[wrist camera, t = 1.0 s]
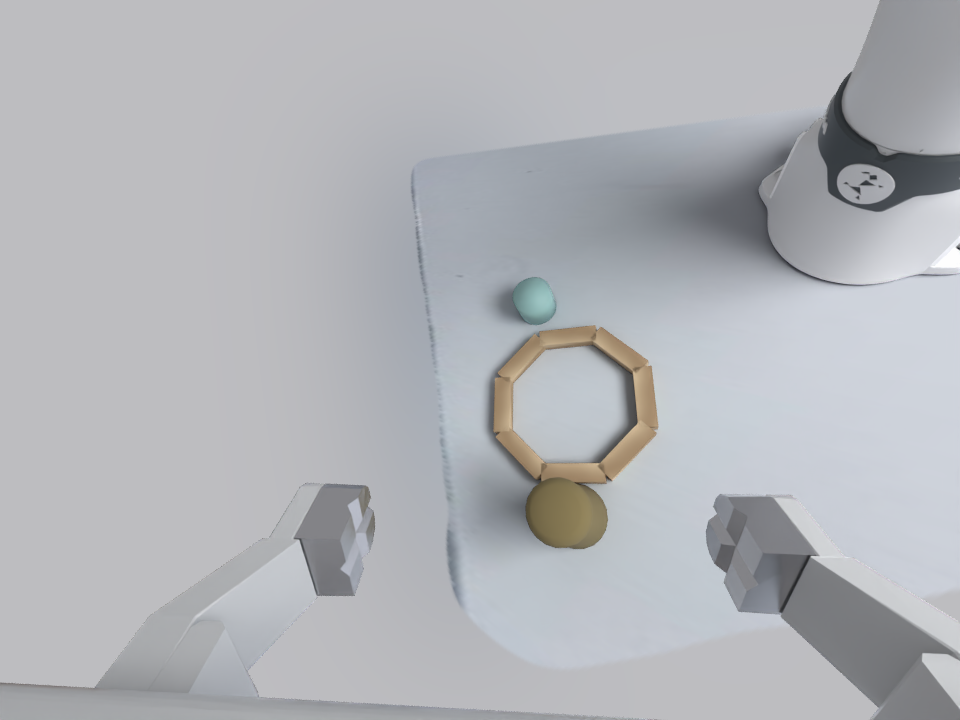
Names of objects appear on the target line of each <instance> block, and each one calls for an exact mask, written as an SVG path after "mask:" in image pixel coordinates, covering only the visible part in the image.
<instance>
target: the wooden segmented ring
mask: <svg viewBox="0 0 960 720" xmlns="http://www.w3.org/2000/svg"><path fill="white" fill-rule="evenodd" d="M588 345H594V346H596V347H597V348H598V349H600V350H601V351H602V352H604V353H605V354H606V355H608V356H609V357H610V358H612V359H613V360H614V361H616V362H617V363H618V364H619V365H621V366H622V367H623V368H625V369H626V370H627V371H629V372H630V373H631V374H633V378H634V389H635V399H636V410H637V420H638V423H637V425H636V426H635V427H634V428H633V429H632V430H631V431H630V432H629V433H628V434H627V435H626V436H625V437H624V438H623V439H622V440H621V441H620V442H619V443H618V445H617V446H616V447H615V448H614V449H613V450H612V451H611V452H610V453H609V454H608V455H607V456H606V457H605V458H604V459H603V460H602V461H601V462H600V463H545V462H544V461H543V460H542V459H541V458H540V457H539V456H538V455H537V454H536V453H535V452H534V451H533V450H532V449H531V448H530V447H529V446H528V445H527V444H526V443H525V442H524V441H523V440H522V439H521V438H520V437H519V436H518V435H517V434H516V433H515V432H514V431H513V383H514V382H515V381H516V380H517V379H518V378H519V377H520V376H521V375H522V374H523V373H524V372H525V370H526V369H527V368H528V367H529V366H530V365H531V364H532V363H533V362H534V361H535V360H536V359H537V358H538V357H539V356H540V355H541V354H542V353H543V352H544V351H545V350H547V349H557V348H567V347H578V346H588ZM498 374H499V375H500V376H501V377H500V378H495V398H494V431H493V432H495V433H496V434H498V435H497V436H496V438H497V439H498V440H499V441H500V442H501V443H502V444H503V446H504V447H505V448H506V449H507V450H508V451H509V452H510V453H511V454H512V455H513V456H514V457H515V458H516V459H517V460H518V461H519V462H520V463H521V465H522V466H523V467H524V468H525V469H526V470H527V471H528V472H529V473H530V474H531V475H532V476H533V477H534V478H535V479H536V480H539V479H540V478H541V481H544V480H546V479H549V478H556V477H561V478H565V479H569V480H571V481H573V482H574V483H595V484H606V476H607V477H609V478H610V479H611V480H612V481H613V480H614V479H615V478H616V477H617V476H618V475H619V474H620V473H621V472H622V471H623V469H624V468H625V467H626V466H627V465H628V464H629V463H630V462H631V461H632V460H633V459H634V458H635V457H636V456H637V455H638V454H639V453H640V451H641V450H642V449H643V448H644V447H645V446H646V445H647V444H648V443H649V442H650V441H651V440H652V439H653V438H654V437H655V436H656V432H655V431H654V430H652V429H658V419H657V410H656V402H655V393H654V384H653V375H652V366H648V360H647V359H645V358H644V357H642V356H641V355H640V354H638V353H637V352H635V351H634V350H633V349H631V348H630V347H629V346H627V345H626V344H624V343H623V342H622V341H620V340H619V339H617V338H616V337H615V336H613V335H612V334H610V333H609V332H608V331H606V330H605V329H603V328H602V327H600V328H599V329H598V330H596V326H595V325H594V326H585V327H576V328H567V329H558V330H549V331H540V338H539V337H538V336H537V335H535V334H534V335H533V336H532V337H531V338H530V339H529V340H528V341H527V342H526V344H525V345H524V346H523V347H522V348H521V349H520V350H519V351H518V352H517V353H516V354H515V355H514V356H513V357H512V358H511V359H510V360H509V361H508V362H507V363H506V364H505V365H504V366H503V367H502V368H501V370H500V371H499V372H498Z"/></svg>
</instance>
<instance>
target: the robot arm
mask: <svg viewBox="0 0 960 720" xmlns="http://www.w3.org/2000/svg"><path fill="white" fill-rule="evenodd" d="M759 194H760V197H761V199H762V200H763V202H764V204H765V205H766V207H767V210H768V224H767V225H768V233H769V237H770V239H771V242H772V244H773V246H774V247H775V249H776V250H777V251H778V253H779V254H780V255H781V256H782V257H783V258H784V259H785V260H786V261H787V262H789V263H790V264H791V265H793V266H794V267H796V268H797V269H799V270H801V271H803V272H805V273H807V274H809V275H811V276H814V277H817V278H820V279H823V280H827V281H831V282H836V283H843V284H856V285H864V284H877V283H884V282H889V281H893V280H897V279H901V278H905V277H908V276H913V275H918V274H937V275H944V274H957V273H960V250H958V249H957V248H956V247H959V248H960V0H880V1H879V4H878V7H877V10H876V13H875V16H874V19H873V22H872V24H871V27H870V30H869V32H868V35H867V38H866V41H865V43H864V45H863V48H862V50H861V53H860V56H859V58H858V60H857V62H856V65H855V67H854V69H853V71H852V72H851V73H849V74H848V76H847V77H846V78H845V79H844V81H843V82H842V83H841V85H840V87H839V89H838V91H837V93H836V95H834V96H833V98H832V99H831V101H830V103H829V105H828V108H827V110H826V112H825V115H824V119H822V118H819V119H817V120H816V121H815V122H814V123H813V124H812V126H811V127H810V129H809V130H808V131H805V132H802V133H801V134H800V135H799V137H798V138H797V140H796V142H795V144H794V146H793V148H792V150H791V152H790V155H789V157H788V159H787V161H786V163H785V164H783V165H782V166H781V167H779V168H778V169H776V170H775V171H774V172H772V173H771V174H770V175H768V176H767V177H766V178H764V179H763V181H762V183H761V185H760V187H759ZM370 498H371V496H370V492H369V488H368V487H367V486H363V485H343V484H342V485H341V484H314V483H305V484H304V485H302V486H301V487H300V488H299V490H298V491H297V493H296V494H295V496H294V498H293V500H292V501H291V503H290V504H289V506H288V508H287V509H286V511H285V513H284V514H283V516H282V518H281V519H280V521H279V522H278V524H277V526H276V528H275V529H274V531H273V532H272V534H271V536H270V537H269V538H262V539H261V540H259V541H258V542H256V543H255V544H254V545H252V546H250V547H249V548H248V549H246V550H245V551H243V552H242V553H240V554H239V555H238V556H236V557H234V558H233V559H232V560H230V561H229V562H227V563H226V564H224V565H223V566H221V567H220V568H218V569H217V570H215V571H214V572H213V573H211V574H210V575H208V576H207V577H205V578H204V579H202V580H201V581H200V582H198V583H197V584H195V585H194V586H192V587H191V588H189V589H188V590H186V591H185V592H184V593H182V594H180V595H179V596H178V597H176V598H175V599H173V600H172V601H171V602H169V603H167V604H166V605H165V606H163V607H161V608H160V609H159V610H157V611H156V612H154V613H153V614H151V615H150V616H149V617H148V618H147V620H146V621H145V622H144V624H143V625H142V626H141V628H140V629H139V630H138V632H137V633H136V634H135V635H134V637H133V638H132V639H131V641H130V642H129V643H128V645H127V646H126V647H125V649H124V650H123V651H122V652H121V654H120V655H119V656H118V658H117V659H116V660H115V662H114V663H113V664H112V666H111V667H110V668H109V670H108V671H107V672H106V673H105V675H104V676H103V677H102V679H101V680H100V681H99V683H98V684H97V685H96V687H95V688H85V687H67V686H50V685H31V684H15V683H0V720H655V719H637V718H620V717H603V716H585V715H566V714H549V713H530V712H512V711H495V710H476V709H459V708H439V707H422V706H405V705H386V704H368V703H350V702H333V701H314V700H298V699H279V698H262V697H261V698H260V697H259V695H258V692H257V689H256V687H255V685H254V684H253V682H252V679H251V678H250V675H249V674H248V672H247V671H248V670H249V669H250V668H251V666H252V665H253V664H254V663H255V662H256V661H257V660H258V659H259V658H260V657H261V656H262V655H263V654H264V653H265V652H266V651H267V650H268V649H269V648H270V647H271V646H272V644H274V643H275V641H276V640H277V639H278V638H279V637H280V636H281V635H282V634H283V633H284V632H285V631H286V630H287V629H288V628H289V627H290V626H291V625H292V624H293V623H294V622H295V621H296V620H297V619H298V618H299V616H300V615H301V614H302V613H303V612H304V611H305V610H306V609H307V608H308V607H309V606H310V605H311V604H312V603H313V602H314V601H315V600H316V599H317V596H320V595H321V596H322V595H323V596H355V593H356V590H357V587H358V584H359V581H360V578H361V575H362V572H363V569H364V568H363V564H362V558H363V557H364V556H365V555H366V554H368V553H369V551H370V548H371V545H372V542H373V537H374V530H375V518H374V512H373V510H372V509H370V508H369V507H368V503H369V501H370ZM713 507H714V509H715V511H716V512H717V515H715V516H714V517H713V518H712V519H710V520H709V521H708V525H707V529H706V541H707V546H708V550H709V553H710V555H711V557H712V560H713V562H714V564H716V565H717V566H718V567H719V568H721V569H722V570H723V571H724V572H725V573H726V576H725V579H724V584H725V586H726V588H727V590H728V592H729V594H730V596H731V598H732V600H733V602H734V604H735V606H736V608H737V610H738V612H752V613H766V614H781V617H782V618H783V619H784V620H785V621H786V622H787V623H788V624H789V625H790V626H791V627H792V628H793V629H794V630H796V631H797V632H798V633H799V634H800V635H801V636H802V637H803V638H804V639H805V640H806V641H807V642H808V643H810V644H811V645H812V646H813V647H814V648H815V649H816V650H817V651H818V652H819V653H821V655H822V656H823V657H825V658H826V659H827V660H828V661H829V662H830V663H831V664H832V665H833V666H834V667H835V668H836V669H837V670H839V671H840V672H841V673H842V674H843V675H844V676H845V677H846V678H847V679H848V680H849V681H850V682H851V683H853V684H854V685H855V686H856V687H857V688H858V689H859V690H860V691H861V692H862V693H863V694H865V695H866V696H867V697H868V698H869V699H870V700H871V701H872V702H873V703H874V704H875V705H876V706H877V707H878V708H879V709H878V710H877V711H876V712H875V713H874V715H873V716H872V717H871V718H870V720H960V622H959V621H957V620H955V619H953V618H952V617H950V616H949V615H947V614H945V613H944V612H942V611H940V610H939V609H937V608H935V607H934V606H932V605H930V604H929V603H927V602H926V601H924V600H922V599H921V598H919V597H917V596H916V595H914V594H912V593H911V592H909V591H908V590H906V589H904V588H903V587H901V586H899V585H898V584H896V583H894V582H893V581H891V580H889V579H888V578H886V577H885V576H883V575H881V574H880V573H878V572H876V571H875V570H873V569H871V568H870V567H868V566H866V565H865V564H863V563H861V562H860V561H858V560H857V559H855V558H850V557H845V556H844V555H843V553H842V552H841V551H840V550H839V549H838V547H837V546H836V545H835V544H834V543H833V541H832V540H831V539H830V538H829V537H828V535H827V534H826V533H825V532H824V531H823V529H822V528H821V527H820V526H819V525H818V523H817V522H816V521H815V520H814V518H813V517H812V516H811V515H810V514H809V512H808V511H807V510H806V509H805V508H804V506H803V505H802V504H801V503H800V502H799V500H798V499H796V498H795V497H793V496H792V495H750V494H720V495H719V496H718V497H717V498H716V500H715V503H714V506H713Z"/></svg>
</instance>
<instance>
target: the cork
mask: <svg viewBox="0 0 960 720" xmlns="http://www.w3.org/2000/svg"><path fill="white" fill-rule="evenodd" d="M526 519H527V522H528V524H529V527H530V529H531V531H532V532H533V533H534V535H535V536H536V538H538V539H539V540H540V541H542V542H543V543H544V544H546V545H549V546H552V547H555V548H567V547H570V548H573V549H585V548H587V547H590V546H593V545H594V544H595V543H597V542H598V541H599V540H600V539H601V538H602V536H603V534H604V532H605V531H606V527H607V521H608V517H607V509H606V507H605V505H604V502H603V500H602V499H601V497H600V496H599V495H598V494H597V493H596V492H595V491H594V490H592V489H591V488H589V487H588V486H585V485H581V484H578V483H574V482H573V481H571V480H569V479H565V478H561V477H556V478H549V479H546V480H544V481H541V482H540V483H539V484H538V485H537V486H535V487H534V488H533V490H532V491H531V493H530V495H529V496H528V499H527V503H526Z"/></svg>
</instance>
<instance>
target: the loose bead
mask: <svg viewBox="0 0 960 720" xmlns="http://www.w3.org/2000/svg"><path fill="white" fill-rule="evenodd" d="M513 302H514V304H515V306H516V308H517V310H518V311H519V313H520V315H521V316H522V318H523V319H524V321H526V322H527V323H529V324H533V325H539V324H543V323H545V322H547V321H548V320H550V319H551V318H552V317H553V315H554V313H555V311H556V302H555V299H554V297H553V294H552V292H551V289H550V287H549V285H548V283H547V282H546V281H545V280H543V279H541V278H537V277H532V278H528V279H525V280H523V281H522V282H520V283H519V284H518V285H517V286H516V288H515V289H514V292H513Z"/></svg>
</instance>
